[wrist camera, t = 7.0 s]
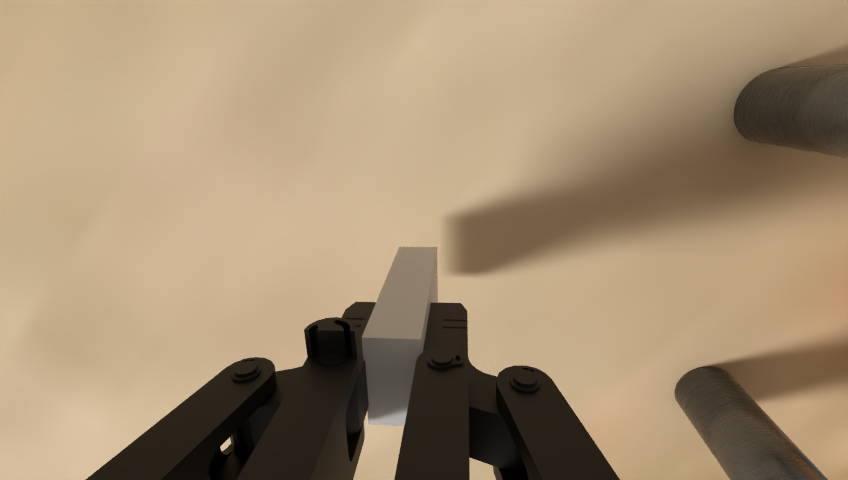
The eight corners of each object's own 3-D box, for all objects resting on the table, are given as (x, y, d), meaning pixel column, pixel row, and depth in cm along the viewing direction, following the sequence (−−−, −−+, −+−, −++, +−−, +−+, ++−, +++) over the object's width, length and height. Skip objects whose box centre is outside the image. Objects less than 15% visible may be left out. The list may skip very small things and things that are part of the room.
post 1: (670, 411, 20) (818, 642, 12) (680, 365, 19) (847, 578, 11) (727, 414, 20) (921, 651, 12) (740, 368, 19) (959, 587, 11)
